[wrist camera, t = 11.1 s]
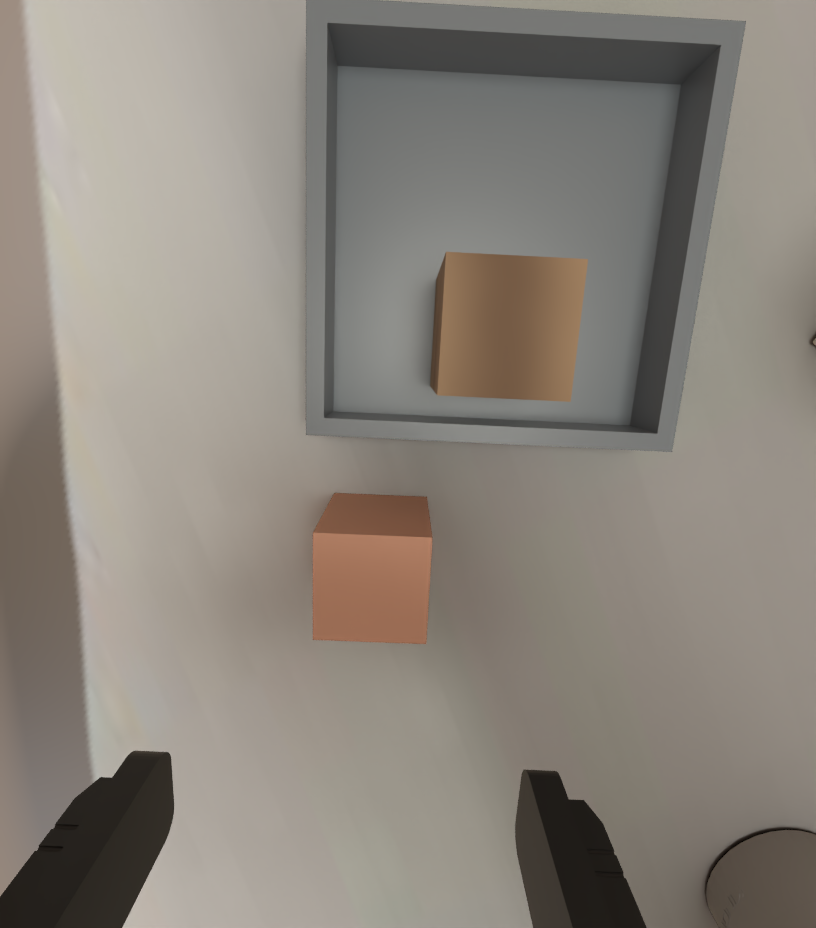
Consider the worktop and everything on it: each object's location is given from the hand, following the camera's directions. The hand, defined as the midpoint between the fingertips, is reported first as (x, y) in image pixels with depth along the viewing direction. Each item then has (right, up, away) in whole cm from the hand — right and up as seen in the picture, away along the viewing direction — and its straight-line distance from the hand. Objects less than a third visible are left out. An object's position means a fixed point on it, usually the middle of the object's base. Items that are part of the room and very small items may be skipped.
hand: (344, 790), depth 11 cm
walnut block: (+5, +14, +12) cm, 19 cm away
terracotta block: (0, +3, +15) cm, 16 cm away
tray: (+6, +17, +12) cm, 22 cm away
